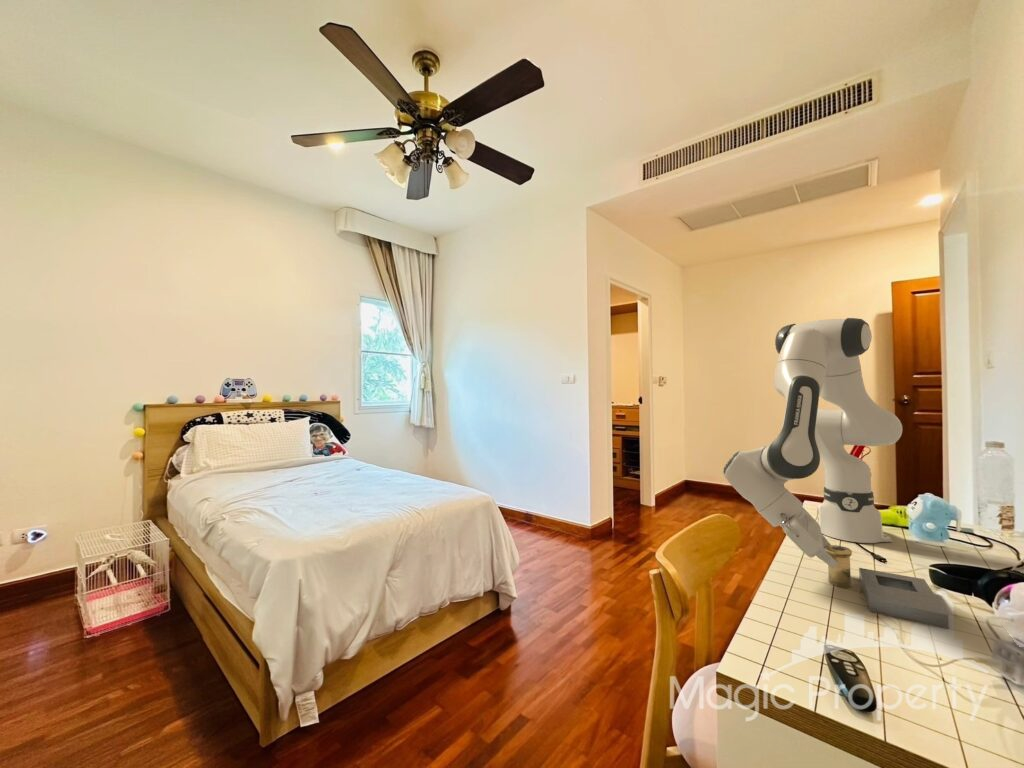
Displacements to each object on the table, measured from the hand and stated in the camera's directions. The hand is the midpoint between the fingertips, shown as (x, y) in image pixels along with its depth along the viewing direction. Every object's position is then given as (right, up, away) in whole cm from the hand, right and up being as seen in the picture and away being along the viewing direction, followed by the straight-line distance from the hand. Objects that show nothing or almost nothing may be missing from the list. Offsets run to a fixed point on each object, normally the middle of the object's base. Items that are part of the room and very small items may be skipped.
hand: (834, 559), depth 94 cm
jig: (+7, -5, -9) cm, 12 cm away
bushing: (+1, -5, -1) cm, 6 cm away
